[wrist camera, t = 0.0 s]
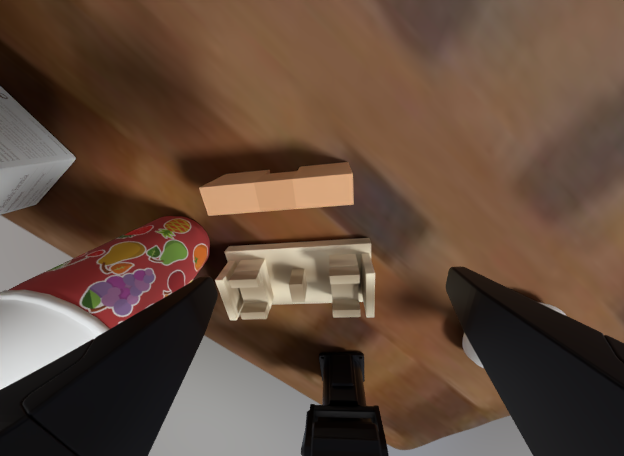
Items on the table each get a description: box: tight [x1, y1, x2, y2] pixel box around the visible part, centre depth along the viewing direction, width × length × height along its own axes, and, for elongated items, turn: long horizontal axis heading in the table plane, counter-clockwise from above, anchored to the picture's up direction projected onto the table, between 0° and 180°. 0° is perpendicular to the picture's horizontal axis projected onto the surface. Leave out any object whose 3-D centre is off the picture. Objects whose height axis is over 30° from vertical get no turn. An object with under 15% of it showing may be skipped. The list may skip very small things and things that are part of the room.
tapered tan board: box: [199, 162, 354, 216], centre depth 19 cm, size 2×12×5 cm, turn 96°
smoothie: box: [0, 216, 210, 390], centre depth 17 cm, size 8×8×20 cm
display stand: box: [215, 238, 375, 320], centre depth 24 cm, size 8×16×5 cm, turn 96°
